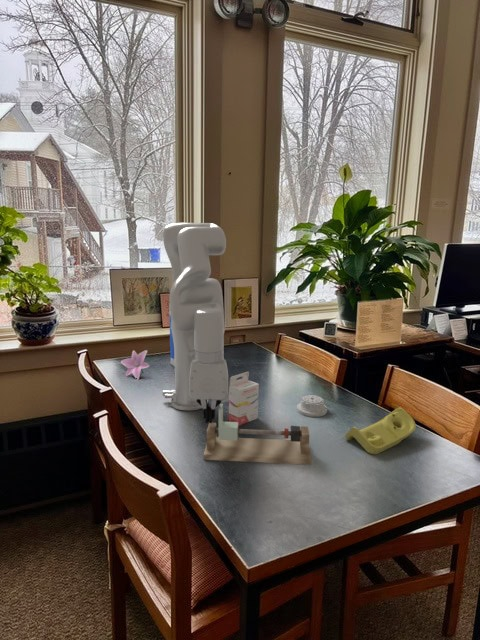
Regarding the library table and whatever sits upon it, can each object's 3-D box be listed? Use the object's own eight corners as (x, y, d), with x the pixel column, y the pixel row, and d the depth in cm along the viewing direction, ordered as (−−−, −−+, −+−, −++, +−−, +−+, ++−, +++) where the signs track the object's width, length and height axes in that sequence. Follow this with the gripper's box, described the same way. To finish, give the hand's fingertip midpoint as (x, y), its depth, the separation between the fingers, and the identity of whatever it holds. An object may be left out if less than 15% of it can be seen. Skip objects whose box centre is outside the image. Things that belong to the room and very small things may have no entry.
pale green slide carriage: (218, 439, 125) (218, 409, 123) (219, 433, 128) (220, 403, 126) (237, 440, 125) (237, 409, 123) (238, 434, 128) (238, 404, 126)
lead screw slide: (203, 459, 123) (203, 433, 121) (208, 441, 133) (208, 416, 131) (311, 464, 121) (312, 438, 119) (308, 445, 131) (309, 420, 129)
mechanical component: (294, 415, 151) (326, 419, 148) (295, 403, 150) (327, 406, 147) (298, 403, 160) (327, 406, 158) (298, 391, 159) (328, 394, 157)
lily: (120, 373, 190) (113, 357, 183) (145, 358, 194) (139, 342, 188) (135, 390, 182) (128, 374, 176) (160, 374, 187) (154, 357, 181)
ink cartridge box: (239, 426, 142) (239, 380, 139) (228, 421, 145) (228, 376, 142) (258, 418, 148) (259, 374, 145) (247, 413, 151) (248, 370, 148)
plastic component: (375, 450, 124) (350, 423, 130) (365, 467, 129) (341, 439, 135) (422, 427, 135) (397, 403, 141) (411, 443, 139) (387, 419, 145)
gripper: (177, 359, 118) (178, 426, 123) (236, 361, 117) (235, 428, 121) (183, 350, 126) (184, 414, 130) (238, 352, 125) (238, 416, 129)
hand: (209, 421), depth 126 cm, fingers closed
